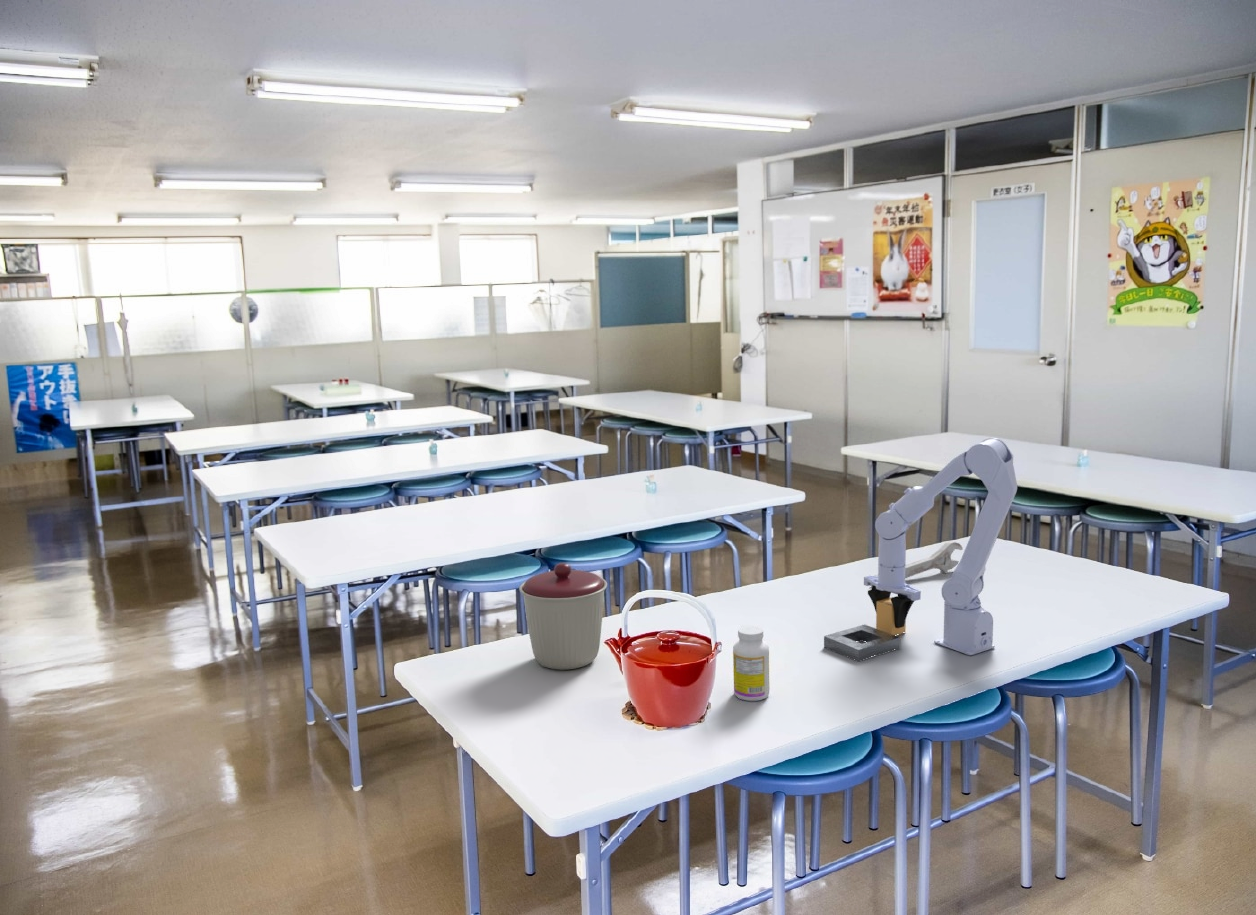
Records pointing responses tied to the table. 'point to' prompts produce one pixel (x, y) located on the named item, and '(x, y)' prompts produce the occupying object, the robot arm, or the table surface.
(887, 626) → the square block
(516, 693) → the table surface
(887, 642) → the square hole plate
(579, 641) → the canister
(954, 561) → the wrench
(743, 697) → the supplement bottle
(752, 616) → the table surface
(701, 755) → the table surface
